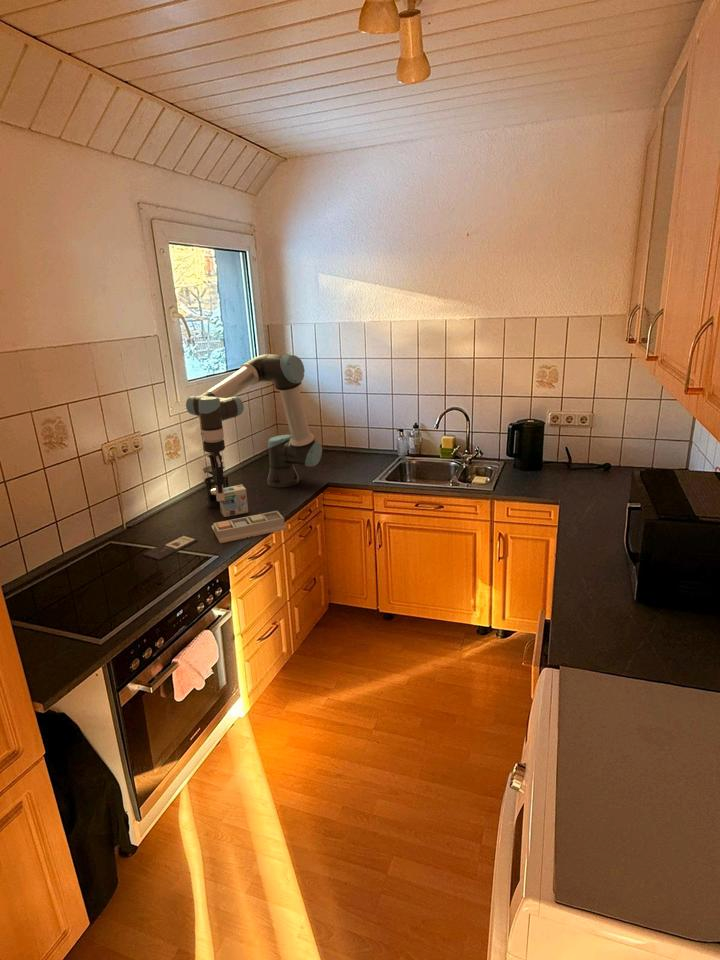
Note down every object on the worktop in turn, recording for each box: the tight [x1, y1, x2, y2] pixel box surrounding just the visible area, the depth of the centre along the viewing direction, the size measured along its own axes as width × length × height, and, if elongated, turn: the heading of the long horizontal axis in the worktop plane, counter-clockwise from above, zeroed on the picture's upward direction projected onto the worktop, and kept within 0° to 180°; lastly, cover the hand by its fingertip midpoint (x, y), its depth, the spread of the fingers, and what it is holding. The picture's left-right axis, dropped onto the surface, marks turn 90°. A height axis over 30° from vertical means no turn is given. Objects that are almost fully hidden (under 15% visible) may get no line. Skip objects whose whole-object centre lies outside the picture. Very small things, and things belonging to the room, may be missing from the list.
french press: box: [202, 454, 230, 509], centre depth 245 cm, size 12×9×23 cm
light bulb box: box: [219, 484, 249, 518], centre depth 237 cm, size 11×7×11 cm, turn 118°
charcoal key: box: [266, 514, 279, 520], centre depth 224 cm, size 4×4×2 cm
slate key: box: [234, 521, 248, 527], centre depth 219 cm, size 4×4×2 cm
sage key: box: [250, 514, 264, 524], centre depth 221 cm, size 4×4×2 cm
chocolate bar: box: [142, 534, 198, 561], centre depth 208 cm, size 9×1×18 cm
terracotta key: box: [216, 520, 231, 530], centre depth 216 cm, size 4×4×2 cm
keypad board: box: [211, 510, 287, 544], centre depth 221 cm, size 26×16×4 cm, turn 115°
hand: (220, 500), depth 212 cm, fingers closed
